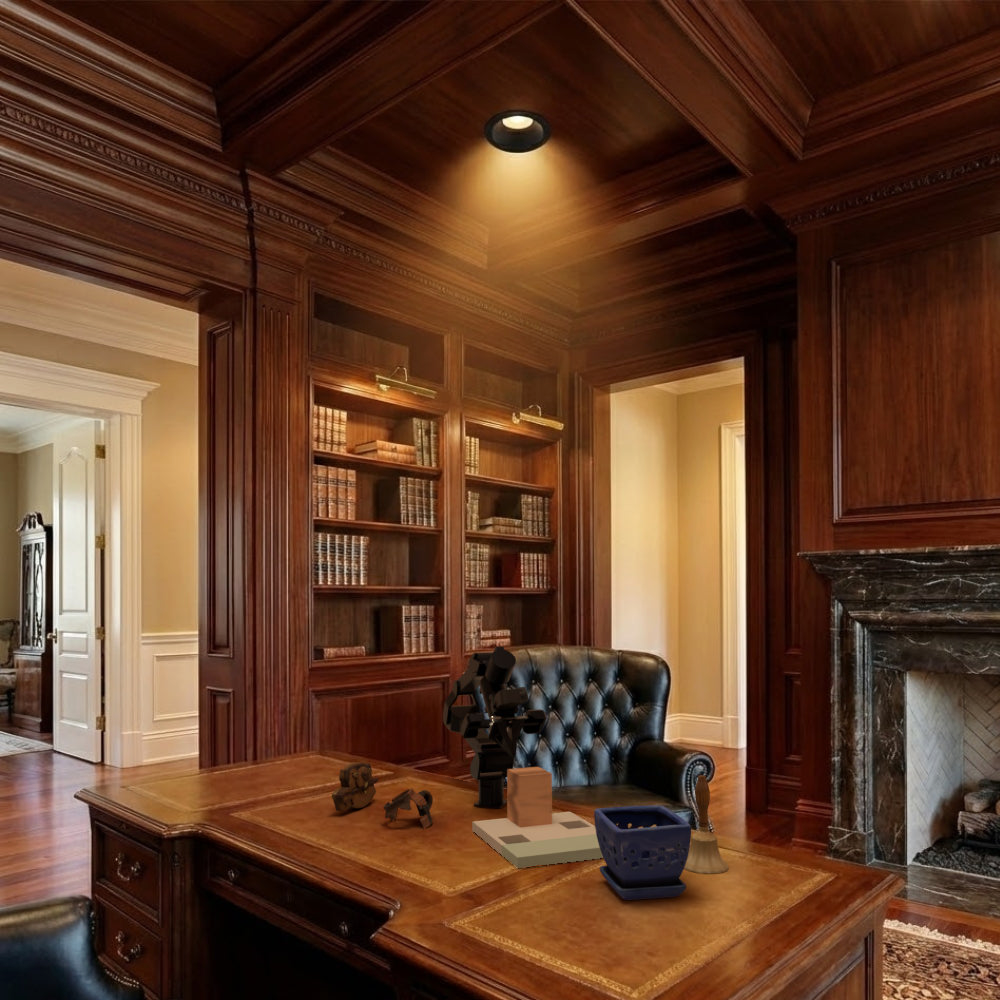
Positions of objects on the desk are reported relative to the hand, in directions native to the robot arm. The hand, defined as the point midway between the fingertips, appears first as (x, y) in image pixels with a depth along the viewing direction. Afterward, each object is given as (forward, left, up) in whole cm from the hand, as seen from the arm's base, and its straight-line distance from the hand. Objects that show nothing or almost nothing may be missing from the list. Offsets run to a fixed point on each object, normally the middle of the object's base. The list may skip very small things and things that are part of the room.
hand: (513, 755), depth 186 cm
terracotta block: (+7, +5, -11) cm, 14 cm away
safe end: (+20, +16, -13) cm, 29 cm away
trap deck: (+10, +8, -14) cm, 19 cm away
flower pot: (+34, +32, -14) cm, 49 cm away
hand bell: (+19, +41, -14) cm, 47 cm away
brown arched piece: (+8, -20, -14) cm, 26 cm away
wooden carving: (+1, -37, -14) cm, 39 cm away
